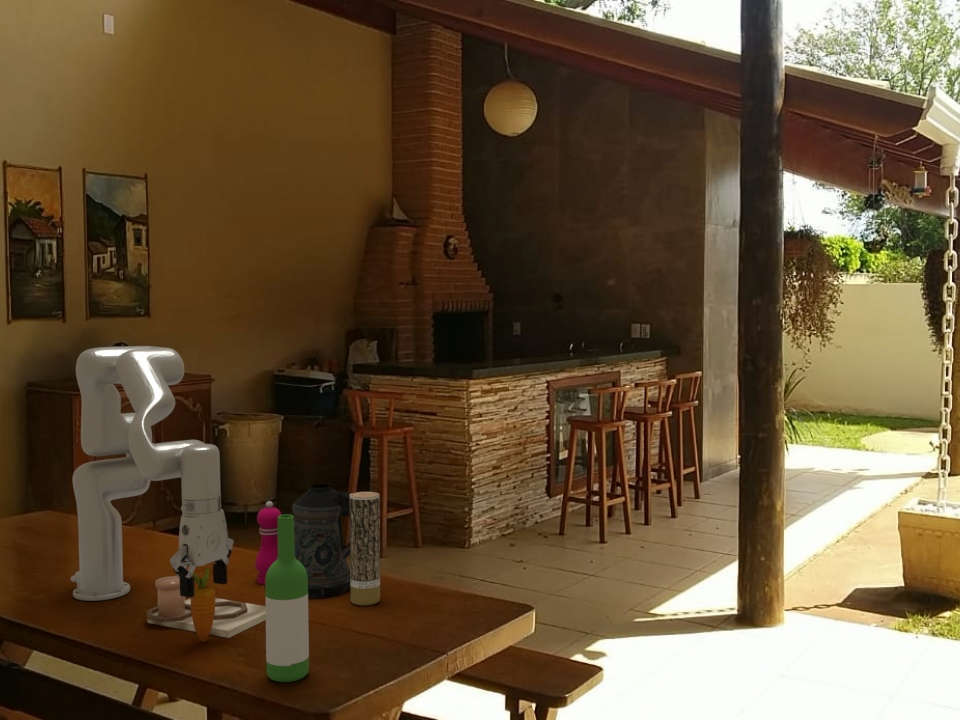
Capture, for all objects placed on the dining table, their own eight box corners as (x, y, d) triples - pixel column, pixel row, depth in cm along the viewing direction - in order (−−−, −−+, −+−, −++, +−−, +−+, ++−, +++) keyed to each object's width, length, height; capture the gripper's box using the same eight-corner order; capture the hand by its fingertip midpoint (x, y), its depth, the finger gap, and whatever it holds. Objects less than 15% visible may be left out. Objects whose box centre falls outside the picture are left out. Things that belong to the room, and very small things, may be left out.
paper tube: (385, 599, 221) (385, 493, 220) (370, 608, 215) (369, 498, 214) (360, 595, 224) (359, 490, 223) (344, 604, 218) (343, 496, 216)
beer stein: (276, 583, 234) (274, 482, 233) (353, 574, 242) (352, 476, 240) (290, 602, 219) (289, 495, 218) (372, 592, 227) (371, 488, 225)
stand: (137, 624, 204) (136, 614, 204) (195, 600, 220) (195, 591, 220) (222, 641, 194) (221, 630, 194) (276, 614, 211) (276, 604, 211)
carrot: (193, 648, 191) (192, 574, 190) (188, 640, 195) (187, 568, 194) (218, 644, 193) (217, 571, 192) (213, 636, 197) (212, 564, 196)
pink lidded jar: (149, 616, 205) (148, 582, 205) (170, 607, 211) (170, 574, 210) (172, 620, 202) (171, 586, 202) (193, 611, 208) (192, 578, 208)
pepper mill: (288, 577, 239) (287, 498, 238) (280, 585, 232) (279, 504, 231) (260, 576, 240) (259, 497, 239) (251, 585, 233) (250, 504, 232)
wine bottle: (316, 677, 176) (314, 516, 174) (276, 687, 171) (274, 522, 169) (298, 664, 182) (296, 509, 180) (259, 673, 178) (257, 514, 176)
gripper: (185, 515, 183) (188, 604, 183) (244, 499, 198) (246, 580, 199) (156, 513, 186) (158, 599, 187) (215, 497, 202) (218, 577, 202)
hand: (204, 589), depth 193 cm, fingers open, 9 cm apart
